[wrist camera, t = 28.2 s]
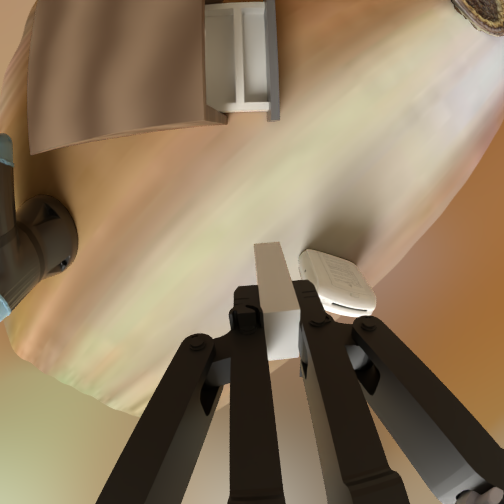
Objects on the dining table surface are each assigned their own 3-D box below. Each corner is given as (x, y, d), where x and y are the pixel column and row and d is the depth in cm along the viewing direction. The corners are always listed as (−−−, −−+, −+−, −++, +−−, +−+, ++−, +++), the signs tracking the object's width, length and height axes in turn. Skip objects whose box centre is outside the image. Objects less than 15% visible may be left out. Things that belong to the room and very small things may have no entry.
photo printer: (293, 267, 46) (306, 314, 35) (303, 244, 44) (321, 286, 33) (346, 282, 47) (371, 327, 36) (357, 261, 46) (386, 303, 34)
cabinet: (125, 136, 36) (30, 155, 17) (124, 22, 28) (45, -28, 8) (227, 124, 36) (204, 120, 17) (223, 4, 28) (205, -81, 8)
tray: (135, 133, 36) (115, 135, 30) (134, 20, 28) (116, 6, 22) (274, 121, 36) (279, 120, 30) (269, 4, 28) (273, -16, 22)
